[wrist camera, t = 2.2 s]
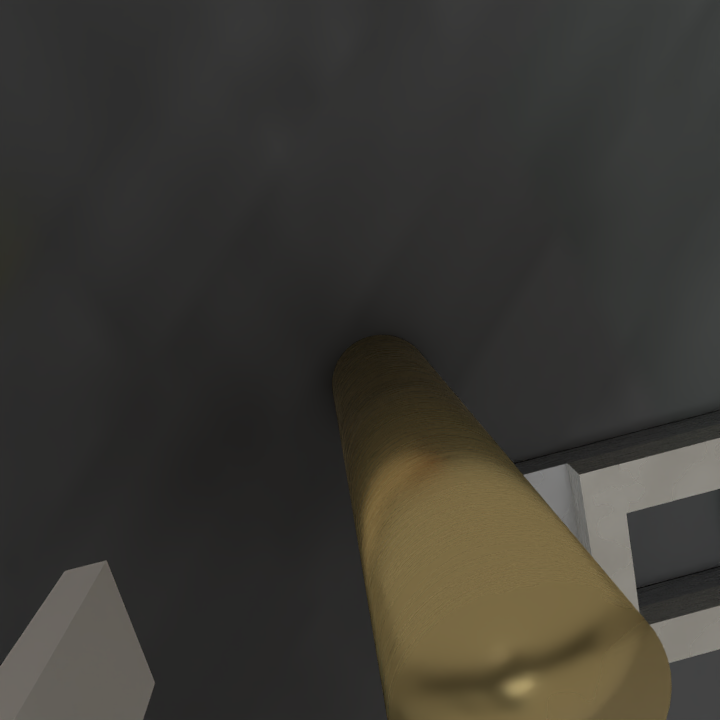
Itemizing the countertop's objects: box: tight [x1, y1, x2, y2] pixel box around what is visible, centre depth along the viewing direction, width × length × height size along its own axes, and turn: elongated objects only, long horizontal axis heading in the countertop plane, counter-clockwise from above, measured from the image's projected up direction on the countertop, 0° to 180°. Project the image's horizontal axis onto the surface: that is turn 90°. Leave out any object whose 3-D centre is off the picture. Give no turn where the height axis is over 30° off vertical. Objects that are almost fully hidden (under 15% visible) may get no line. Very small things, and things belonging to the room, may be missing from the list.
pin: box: [332, 335, 672, 720], centre depth 15 cm, size 4×4×15 cm
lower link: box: [514, 411, 720, 607], centre depth 24 cm, size 16×9×1 cm, turn 103°
